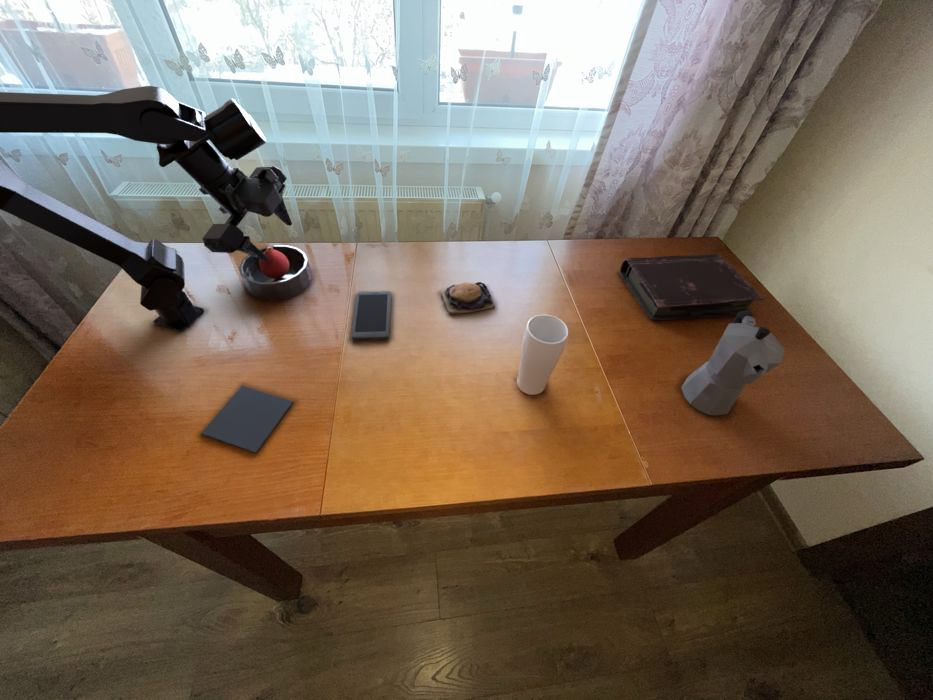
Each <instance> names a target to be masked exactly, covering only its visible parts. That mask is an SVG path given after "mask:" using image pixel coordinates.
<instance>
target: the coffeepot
mask: <svg viewBox="0 0 933 700" xmlns="http://www.w3.org/2000/svg"><path fill="white" fill-rule="evenodd" d="M753 316H754V315H753V312H752V311H751V310H750V309H748V310H746V311H741V312H739V313H738V314H737V315H736V316H734V319H733V321H732V322H731V323H730V322H729V323H728V325H727V326H726V328H725V330H724V332H723V334H722V335H721V338H720V339H719V341H718V343H717V345H716V346H715V348H714V350H713V353H712V354H711V356H710V358H709V359H708V360H707V361H705V363H703V364H702V365H701V366H700V367H698V368H697V369H696V370H694V371H692V373H690V375H688V376H687V377H686V378H685V381H684V382H683V384H682V386H681V387H680V389H681V392H682V394H683V397H684V398H685V400H686V402H687V403H688V404H689V405H690V406H691V407H692V408H694V409H695V410H697V411H699V412H701V413H703V414H705V415H708V416H715V417H716V416H723V415H728V414H729V412H730V411H731V409H732V408H733V406H734V405H735V403H736V401H737V400H738V398H739V396H740V395H741V393H742V391H743V389H744V388H745V386H747V385H750V384H753V383H754V382H755V381H757V380H759V379H760V378H761V377H763V376H764V375H766V374H767V373H769V372H770V371H771V370H773V369H774V368H776V367H778V366H779V365H781V363H782V361H783V358H784V355H785V353H786V349H785V348H784V346H783V345H782V343H780V341H779V340H778V339H777V337H775V335H774V334H773V333H771V330H769V328H768V327H765V326H756V324H757V323H756V318H755V317H753Z"/></svg>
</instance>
